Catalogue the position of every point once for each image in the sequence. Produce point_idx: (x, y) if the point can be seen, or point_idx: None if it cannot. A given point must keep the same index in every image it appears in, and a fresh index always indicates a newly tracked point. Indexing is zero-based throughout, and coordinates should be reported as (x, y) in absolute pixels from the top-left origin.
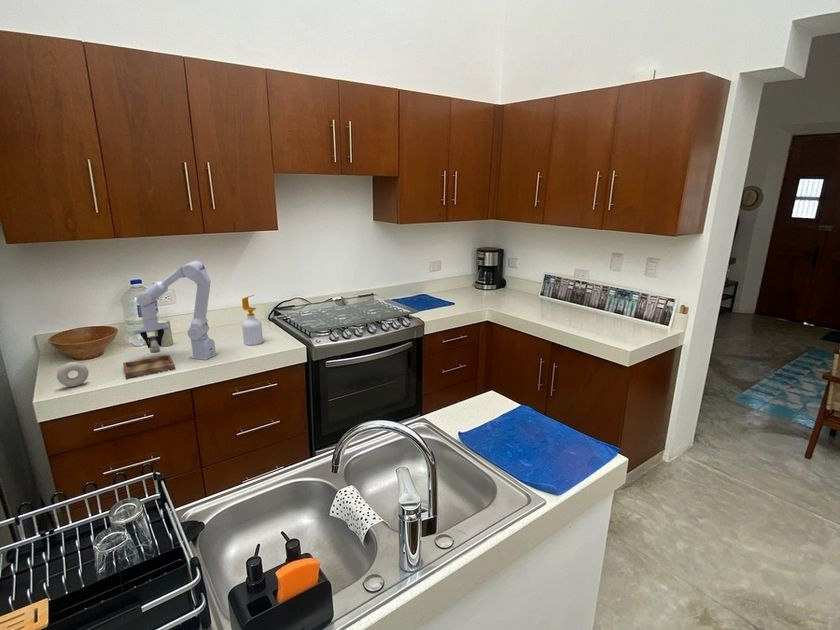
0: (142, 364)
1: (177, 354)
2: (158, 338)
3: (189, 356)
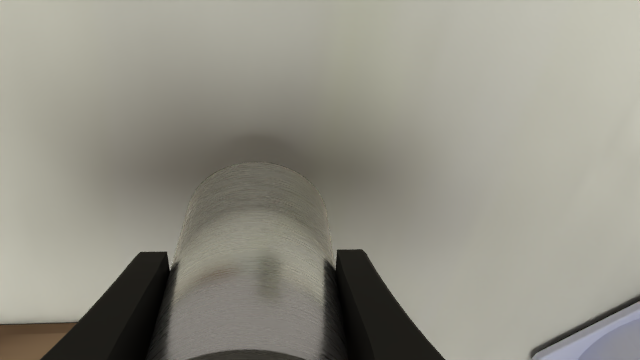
0: None
1: (496, 205)
2: (366, 349)
3: (546, 358)
